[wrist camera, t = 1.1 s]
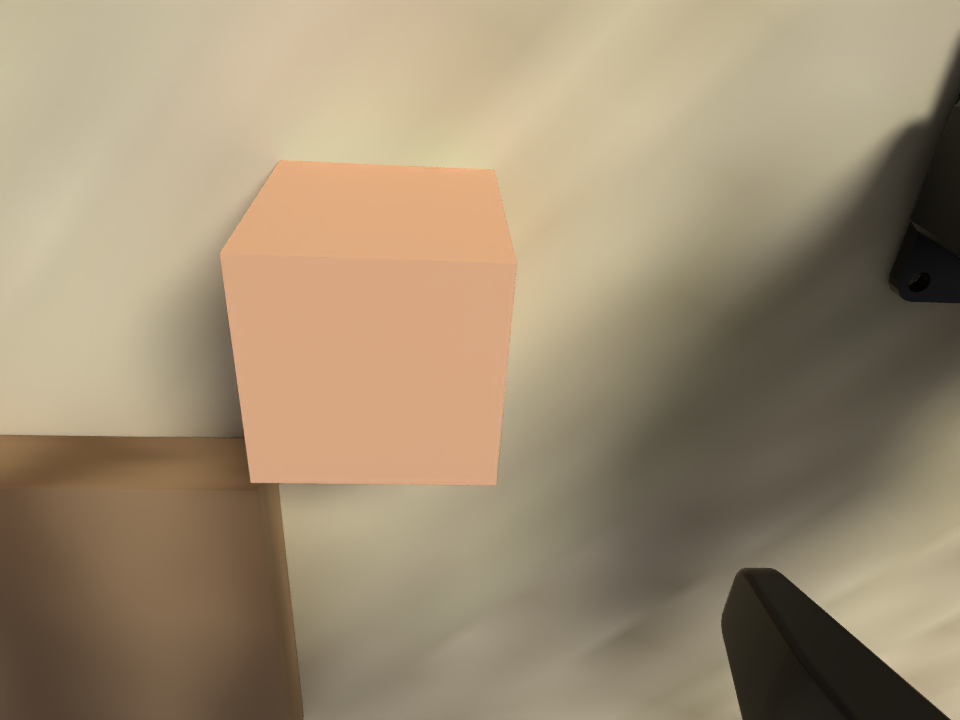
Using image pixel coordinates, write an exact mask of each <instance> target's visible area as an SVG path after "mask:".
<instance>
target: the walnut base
mask: <svg viewBox="0 0 960 720" xmlns="http://www.w3.org/2000/svg"><path fill="white" fill-rule="evenodd" d="M303 717H304V715H303V706H302V697H301V687H300V678H299V669H298V660H297V651H296V642H295V633H294V624H293V615H292V606H291V597H290V587H289V578H288V569H287V560H286V551H285V542H284V533H283V524H282V515H281V506H280V497H279V487H278V483H251V481H250V473H249V466H248V459H247V451H246V444H245V438H181V437H106V436H30V435H0V720H303Z"/></svg>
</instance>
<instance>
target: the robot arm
mask: <svg viewBox="0 0 960 720" xmlns="http://www.w3.org/2000/svg"><path fill="white" fill-rule="evenodd" d="M918 273H921V274H920V277H919V278H918V280H917V281H915V282H914V283H912V284H909V281H910V280H911V278H912V277H913V276H915V275H916V274H918ZM889 285H890V288H891V289H892V290H893V291H894V292H895V293H896V294H898V295H899V296H900V297H901V298H903V299H904V300H907V301H911V302H937V303H960V94H959V97H958V99H957V102H956V104H955V106H954V107H953V109H952V111H951V113H950V116H949V119H948V121H947V124H946V126H945V129H944V131H943V134H942V137H941V139H940V142H939V144H938V147H937V150H936V152H935V155H934V157H933V160H932V163H931V165H930V168H929V170H928V173H927V176H926V178H925V181H924V183H923V186H922V189H921V191H920V194H919V196H918V199H917V202H916V204H915V207H914V209H913V212H912V215H911V221H910V223H909V226H908V229H907V231H906V234H905V236H904V239H903V242H902V244H901V247H900V249H899V252H898V254H897V257H896V260H895V262H894V265H893V267H892V270H891V273H890V276H889ZM721 627H722V634H723V639H724V643H725V647H726V652H727V656H728V660H729V664H730V669H731V673H732V677H733V681H734V686H735V690H736V694H737V698H738V703H739V707H740V711H741V715H742V720H951V719H950V718H948V717H947V716H946V715H945V714H944V713H943V712H941V711H940V710H939V709H938V708H937V707H936V706H934V705H933V704H932V703H931V702H930V701H929V700H927V699H926V698H925V697H924V696H923V695H922V694H921V693H919V692H918V691H917V690H916V689H915V688H914V687H912V686H911V685H910V684H909V683H908V682H907V681H905V680H904V679H903V678H902V677H901V676H900V675H898V674H897V673H896V672H895V671H894V670H893V669H892V668H890V667H889V666H888V665H887V664H886V663H885V662H883V661H882V660H881V659H880V658H879V657H878V656H876V655H875V654H874V653H873V652H872V651H871V650H869V649H868V648H867V647H866V646H865V645H864V644H863V643H861V642H860V641H859V640H858V639H857V638H856V637H854V636H853V635H852V634H851V633H850V632H849V631H847V630H846V629H845V628H844V627H843V626H842V625H840V624H839V623H838V622H837V621H836V620H835V619H834V618H832V617H831V616H830V615H829V614H828V613H827V612H825V611H824V610H823V609H822V608H821V607H820V606H818V605H817V604H816V603H815V602H814V601H813V600H811V599H810V598H809V597H808V596H807V595H806V594H805V593H803V592H802V591H801V590H800V589H799V588H798V587H796V586H795V585H794V584H793V583H792V582H791V581H789V580H788V579H787V578H786V577H785V576H784V575H782V574H781V573H780V572H778V571H777V570H775V569H772V568H743V569H741V570H739V571H738V572H737V574H736V576H735V578H734V581H733V584H732V587H731V590H730V592H729V595H728V598H727V601H726V604H725V607H724V610H723V613H722V620H721Z"/></svg>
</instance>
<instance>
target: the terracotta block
mask: <svg viewBox="0 0 960 720" xmlns="http://www.w3.org/2000/svg"><path fill="white" fill-rule="evenodd" d="M220 260H221V268H222V275H223V282H224V290H225V297H226V305H227V312H228V319H229V327H230V334H231V341H232V349H233V356H234V363H235V371H236V378H237V385H238V393H239V400H240V407H241V415H242V422H243V429H244V437H245V444H246V451H247V459H248V466H249V473H250V481H251V483H321V484H423V485H496V480H497V469H498V459H499V448H500V438H501V427H502V417H503V406H504V396H505V385H506V374H507V364H508V353H509V343H510V332H511V322H512V311H513V301H514V290H515V280H516V269H517V262H516V257H515V253H514V249H513V245H512V241H511V237H510V233H509V229H508V225H507V221H506V216H505V212H504V208H503V204H502V200H501V196H500V192H499V188H498V184H497V179H496V175H495V171H494V170H488V169H465V168H442V167H419V166H397V165H374V164H351V163H328V162H306V161H283V160H280V161H279V162H278V164H277V165H276V167H275V168H274V170H273V172H272V173H271V175H270V176H269V178H268V179H267V181H266V182H265V184H264V185H263V187H262V189H261V190H260V192H259V193H258V195H257V196H256V198H255V199H254V201H253V202H252V204H251V206H250V207H249V209H248V210H247V212H246V213H245V215H244V216H243V218H242V220H241V221H240V223H239V224H238V226H237V227H236V229H235V230H234V232H233V233H232V235H231V237H230V238H229V240H228V241H227V243H226V244H225V246H224V247H223V249H222V250H221V252H220Z"/></svg>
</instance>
